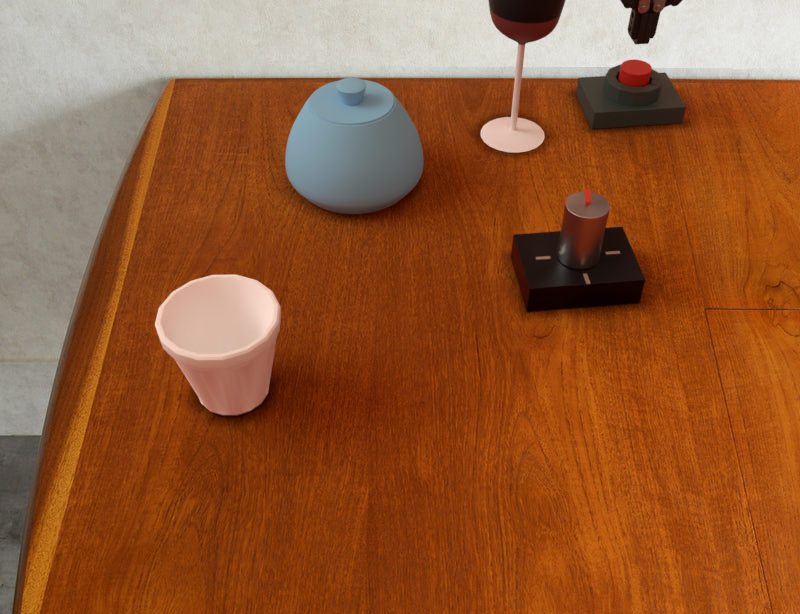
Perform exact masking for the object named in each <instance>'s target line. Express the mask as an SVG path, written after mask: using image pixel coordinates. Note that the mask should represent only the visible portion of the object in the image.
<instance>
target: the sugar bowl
mask: <svg viewBox="0 0 800 614" xmlns="http://www.w3.org/2000/svg"><path fill="white" fill-rule="evenodd" d="M284 158H285V159H284V163H285V164H284V165H285V172H286V177H287V179H288V181H289V183H290V184H291V186H292V187H293V189H294V190H296V192H297V193H298V194H299V195H301V197H303V198H305V199H306V200H307V201H308V202H310V203H311V204H313V205H315V206H317V207H318V208H321V209H322V210H326V211H327V212H328V211H329V212H332V213H335V214H336V213H337V214H344V215H364V214H370V213H375V212H378V211H383V210H385V209H388V208H390V207H392V206H394V205H395V204H396V203H398V202H400V201H401V200H402V199H404V198H405V197H406V196H407V195H409V194H410V192H412V191H413V189H414V188H415V187H416V186H417V185H418V183H419V181H420V180H421V177H422V175H423V172H424V167H425V163H424V162H425V161H424V160H425V159H424V158H425V157H424V150H423V146H422V141H421V138H420V135H419V132H418V130H417V127H416V125H415V123H414V122H413V120H412V118H411V116H410V115H409V113H408V111H407V110H406V109H405V107H404V106H403V104H402V103H401V101H399V99H398V98H397V96H395V94H393V92H392V91H391V90H390V89H389V88H388V87H385V86H384V85H382V84H380V83H378V82H375V81H372V80H367V79H362V78H359V77H344V78H342V79H340V80H335V81H331V82H328V83H326V84H323V85H322V86H320V87H318V88H317V89H316V90H315V91H313V92H312V93H311V95H309V97H308V98H307V100H306V101H305V102H304V104H303V106H302V107H301V109H300V111H299V113H298V115H297V116H296V117H295V120H294V122H293V124H292V126H291V128H290V132H289V134H288V137H287V143H286V147H285V157H284Z"/></svg>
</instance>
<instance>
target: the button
mask: <svg viewBox="0 0 800 614" xmlns="http://www.w3.org/2000/svg"><path fill="white" fill-rule="evenodd" d="M652 69H653V67H652V66H651V64H650V63H648V62H647V61H646V60H645V61H644V60H642V59H627V60H625V61H623V62H622V63H621V67H620V72H619V77H618V80H619V82H620V83H622V84H624V85H626V86H631V87H644V86H646V85H648V84H649V80H650V76H651V71H652Z"/></svg>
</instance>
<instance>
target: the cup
mask: <svg viewBox="0 0 800 614" xmlns="http://www.w3.org/2000/svg"><path fill="white" fill-rule="evenodd" d="M281 321H282V307H281V304H280V302H279V301H278V299H277V297H276V295H275V292H274V291H273V290H271V289H270V288H269V287H267V286H266V285H265V284H263V283H262V282H260V281H259V280H257V279H254V278H250V277H247V276H243V275H240V274H235V273H234V274H210V275H207V276H204V277H200V278H196V279H193V280H190V281H188V282H186V283H185V284H182V285H181V286H180V287H177V288H176V289H175V290H173V291H171V293H170V294H169V295H168V296H167V298H166V299H165V300H164V301H163V302H162V303H161V304H160V305H159V306H158V308H157V314H156V318H155V322H154V327H155V330H156V333H157V336H158V338H159V341H160V344H161V347H162V349H163V350H164V351H165V353H167V355H169V356H170V357H171V358H172V359H174V361H175V363H176V364H177V366H178V367H179V369H180V371H181V372H182V374H183V375H184V377H185V378H186V380H187V382H188V383H189V385H190V386H191V388H192V390H193V391H194V392H195V393H194V394H196V396H197V398H198V400H199V402H200V404H201V405H202V406H203V407H205V408H206V409H207V410H208V411H209V412H210V413H212V414H216V415H219V416H222V417H238V416H242V415H244V414H249V413H251V412H252V411H254V410H255V409H257V408H258V407H259V406H261V405H262V404H263V402H264V401H265V399H266V397H267V396H268V394H269V391H270V383H271V378H272V372H273V371H272V370H273V363H274V357H275V350H276V345H277V339H278V335H279V333H280V331H281Z"/></svg>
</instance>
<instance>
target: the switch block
mask: <svg viewBox="0 0 800 614" xmlns="http://www.w3.org/2000/svg"><path fill="white" fill-rule="evenodd" d="M621 64H622V63H621ZM621 64H618V65H615V66H613V67H611V68H609V69H608V71H607V72H606V74H605V75H599V76H583V77H578V78H577V83H576V89H575V95H576V97H577V99H578V100H577V101H579V102H578V103H579V104H580V107H581V108H582V110H583V113H584V115H585V117H586V119H587V121H588V124H589V126H590V129H592V130H598V129H599V130H600V129H610V128H612V129H614V128H628V127H629V128H631V127H645V126H658V125H659V126H660V125H674V124H683V121H684V117H685V113H686V109H687V106H686V104H685V102H684V101H683V99H682V97H681V96H680V94H679V92H678V91H677V89H676V88H675V86H674V84H673V82H672V81H671V79H670V77H669V76H668V74H667V73H666V72H658V71H657V70H655V69H653V68H652V71H651V76H650V80H649V84H648V85H646V86H644V87H631V86H626V85H624V84H622V83H620V82H619V80H618V77H619V72H620V67H621Z"/></svg>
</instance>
